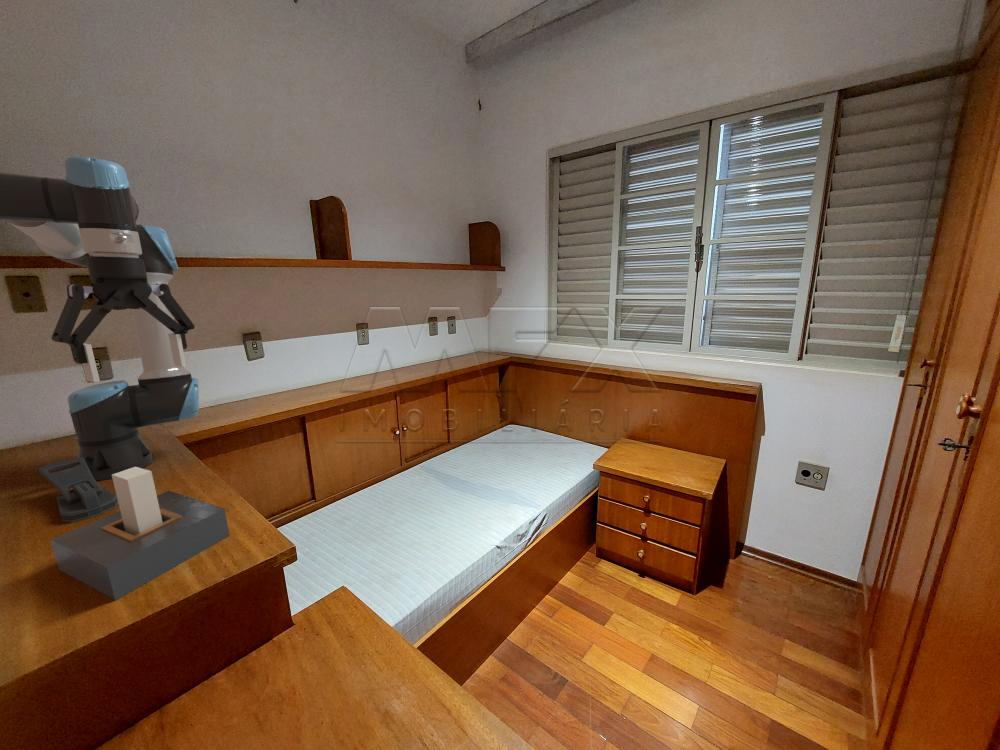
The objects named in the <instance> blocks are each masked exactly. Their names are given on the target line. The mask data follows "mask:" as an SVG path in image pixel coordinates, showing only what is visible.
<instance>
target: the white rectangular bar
mask: <svg viewBox="0 0 1000 750" xmlns="http://www.w3.org/2000/svg"><path fill="white" fill-rule="evenodd" d="M153 476H154V475H153V473H152V470H149V469H146V468H139V467H133V468H130V469H127V470H124V471H121V472H118V473H115V474H112V478H111V479H112V482H113V485H114V486H113V487H114V490H115V494H116V495H117V499H118V507H119V511H121V516H122V520H123V524H124V528H125V532H127V533H129V534H131V535H134V536H135V535H137V534H139V533H141V532H143V531H146V530H148V529H150V528H152V527H154V526H156V525H158V524H161V523H163V522H162V517H161V513H160V508H159V504H158V499H157V496H158V495H157V491H156V486H155V480H154V477H153Z"/></svg>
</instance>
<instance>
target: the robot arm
mask: <svg viewBox="0 0 1000 750" xmlns="http://www.w3.org/2000/svg"><path fill="white" fill-rule="evenodd" d="M64 169H65V174H66V176H65V179H62V178H54V177H43V176H35V175H34V176H33V175H26V174H25V175H24V174H19V173H18V174H17V173H7V172H0V220H3V221H4V222H7V223H8V224H9V225H12V226H13V227H15V228H16V229H17V230H19V231H20V232H22V233H23V234H25V235H27V236H28V237H30V239H32V240H33V241H34V243H35V245H36V246H37V247H38V248H39V249H40V250H41V251H42V252H44V253H45V254H47V255H49V256H51V257H53V258H55V259H57V260H58V261H59V260H60V261H63V262H65V263H68V264H72V265H77V266H80V267H83V268H87V271H88V275H89V278H90V281H91V284H90V286H89V285H88V286H87V285H85V286H84V285H81V284H68V285H67V286H66V294H67V295H66V296H67V298H66V300H65V304H64V306H63V309H62V310H61V313H60V315H59V318H58V320H57V323H56V326H55V327H54V330H53V333H52V335H51V338H50V339H51V340H52V341H53V342H55V343H62V344H67V345H69V347H70V351H71V355H72V360H73V362H75V364H77V365H79V364H80V365H82V369H83V372H84V376H85V380H86V381H87V382H92V383H98V384H93V385H91V386H87V387H82V388H80V389H78V390H76V391H74V392H72V393H70V395H69V396H68V397H67V403H68V409H69V410H68V413H69V414H70V418H71V422H72V424H73V425H72V426H73V428H74V432H75V433H74V434H75V436H76V440H77V444H78V447H79V448H78V453H77V457H76V458H81V457H83V458H84V460H85V462H86V464H87V466H88V468H89V470H90V472H91V474H92V476H93V478H94V479H95V481H102V480H109V479H112V474H115V473H118V472H121V471H124V470H127V469H130V468H133V467H139V468H142V469H145V468H146V467H147V466H149V465H150V464H151V463H152V462H153V461H154V459H153V456H152V452H151V450H150V449H149V447H148V446H147V444H146V443H145V442H144V441H143V440H142V437H140V434H139V431H138V428H142V427H143V428H144V427H149V426H150V427H151V426H154V425H155V426H156V425H163V424H167V423H172V422H173V423H174V422H181V421H186V420H190V419H194V418H196V417H197V416H198V415H199V410H200V408H199V396H200V395H199V394H200V393H199V379H198V378H196V377H192V373H191V371H190V370H188V369H186V368H184V367H187V364H186V357H185V352H184V350H187V349H188V348H187V347H188V344H187V339H186V335H187V333H188V332H189V331H190V330H194V329H195V328H196V327H195V324H194V323H193V322H192V320H191V319H190V317H188V315H187V313H186V312H185V311H184V309H183V308H182V306H180V304H179V303H178V302H177V301H176V299H175V298H174V297H173V296H172V292H171V289H170V286H169V282H170V281H171V280H173V278H174V272H176V271H178V270H179V266H178V263H177V260H176V257H175V254H174V251H173V249H172V245H171V242H170V239H169V236H168V234H167V232H166V230H165V229H163V228H162V227H159V226H154V225H145V224H137V223H136V222H137V221H138V219H139V215H140V211H139V210H140V209H139V205H138V202H137V201H136V199H135V197H133V195H132V193H131V188H130V182H129V180H128V176H127V173H126V170H125V168H124V166H122V165H121V164H119V163H116V162H115V161H110V160H107V159H106V160H105V159H103V158H102V159H101V158H95V157H88V156H87V157H86V156H71V157H67V158H66V159H65V160H64ZM90 294H91V295H93V296H94V297H95V298H96V299H97V301H96V302H95V303H94V305H92V307H91V310H90V311H89V312H88V313H87V314H86V316H85V317H84V319H83V320H82V321H81V322H80V323H79V324H78V325H77V327H76V328H75V325H76V323H77V320H78V318H79V315H80V313H81V310H82V308H83V305H84V303H85V299H87V298H88V297H89V295H90ZM128 309H129V310H130V309H131V314H132V318H133V324H134V329H135V333H136V338H137V344H138V350H139V355H140V360H141V365H142V369H143V371H142V373H141V374H140V375H139V376H138V377H137V382H138V384H134V385H129V382H127V381H126V380H117V381H116V380H114V381H113V380H112V381H107V382H103V383H102V382H101V380H100V376H99V372H98V369H97V364H96V360H95V356H94V352H93V347H92V344H91V343H86V341H87V340H88V339H89V338H90V336H91V335H92V333H93V332H94V331H95V330H96V328H97V327H98V326H99V325H100V324H101V322H102V321H103V320H104V318H105V317H106V316H107V314H109V313H111V312H112V310H113V311H114V310H115V311H122V310H123V311H124V310H128ZM74 328H75V330H74ZM99 382H101V383H99ZM76 466H80V465H75V467H76Z"/></svg>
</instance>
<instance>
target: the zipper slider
mask: <svg viewBox="0 0 1000 750" xmlns="http://www.w3.org/2000/svg"><path fill="white" fill-rule="evenodd" d="M76 465H80V466H76ZM72 466H73V467H72ZM69 467H70V468H69ZM60 469H63V470H60ZM56 470H58V471H56ZM54 471H55V472H54ZM37 472H38V473H39V474H40V475H41V476H42V477H43V478H44V479H46V480H47V481H48V482H49V484H51V485H52V486H53V487H54V488H55V489H57V490H58V491H59V493H60V494H59V495H57V496H56V502H57V506H58V510H59V515H60V517H61V522H63V523H72V524H74V523H77V522H80V521H84V520H89V519H92V518H96V517H98V516H100V515H103V514H106V513H108V512H110V511H112V510H114V509H116V508H117V507H118V505H119V503H118V499H117V495H116V492H115V493H114V492H113V491H110V490H108V489H106V488H104V487H102V486H101V485H100V484H99V483H98V482H97V480H95V479H94V478H93V476H92V474H91V472H90V470H89V468H88V466H87V464H86V462H85V460H84V458H83V457H81V458H77V457H75V458H70V459H67V460H62V461H58V462H53V463H51V464H47V465H44V466H41V467H38V468H37ZM71 488H72V489H71Z"/></svg>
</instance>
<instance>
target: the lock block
mask: <svg viewBox="0 0 1000 750" xmlns="http://www.w3.org/2000/svg"><path fill="white" fill-rule="evenodd" d="M157 499H158V504H159V508H160V513H161V517H162V522H163V523H161V524H158V525H156V526H154V527H152V528H150V529H148V530H146V531H143V532H141V533H139V534H137V535H135V536H134V535H131V534H129V533H127V532H125V528H124V524H123V520H122V516H121V511H120V510H119V511H117V512H114V513H112V514H109V515H107V516H105V517H102V518H99V519H97V520H95V521H92V522H90V523H87V524H85V525H82V526H79V527H78V528H76V529H73V530H70V531H68V532H66V533H65V532H64V533H62V534H60V535H58V536H56V537H54V538H50V544H51V546H52V550H53V553H54V557H55V561H56V565H57V567H58V570H59V571H60V572H62V573H64V574H65V575H68V576H70V577H71V578H73V579H75V580H77V581H79V582H81V583H82V584H84V585H86V586H88V587H90V588H92V589H94V590H96V591H97V592H99V593H101V594H103V595H105V596H107V597H108V598H110V599H111V600H114V601H117V600H119V599H120V598H122V597H124V596H126V595H128V594H129V593H131V592H133V591H135V590H137V589H138V588H140V587H141V586H144V585H145V584H147V583H150V582H151V581H152V580H154V579H156V578H158V577H160V576H161V575H162V574H165V573H166V572H168V571H170V570H171V569H173V568H175V567H177V566H179V565H181V564H183V563H184V562H186V561H187V560H189V559H191V558H193V557H195V556H196V555H198V554H199V553H201V552H204V551H205V550H208V549H209V548H210V547H212V546H214V545H215V544H217V543H219V542H221V541H222V540H225V539H226V538H228V537H230V531H229V525H228V520H227V514H226V508H224V507H220V506H218V505H216V504H215V505H214V504H212V503H208V502H205V501H202V500H200V499H196V498H193V497H190V496H187V495H183V494H181V493H178V492H174V491H172V490H171V491H170V490H168V491H166V492H163V493H161V494H158V495H157Z"/></svg>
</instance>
